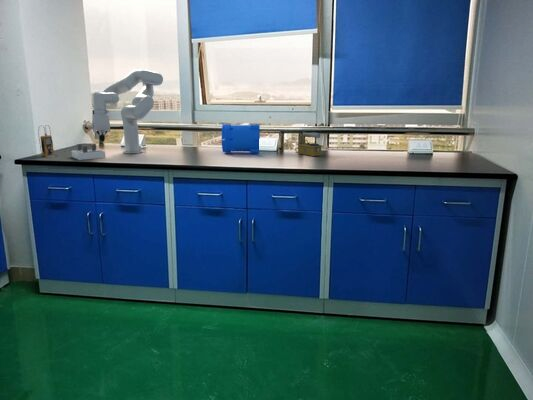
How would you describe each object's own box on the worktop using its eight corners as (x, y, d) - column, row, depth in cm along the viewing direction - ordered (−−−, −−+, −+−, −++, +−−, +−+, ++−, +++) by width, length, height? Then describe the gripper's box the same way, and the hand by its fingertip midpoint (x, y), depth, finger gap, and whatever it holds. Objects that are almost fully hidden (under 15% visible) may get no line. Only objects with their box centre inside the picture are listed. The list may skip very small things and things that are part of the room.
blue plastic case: (221, 154, 298) (221, 125, 294) (225, 150, 320) (224, 122, 315) (259, 154, 298) (258, 125, 293) (259, 150, 319) (259, 123, 315)
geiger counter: (313, 156, 289) (313, 133, 286) (289, 152, 310) (289, 130, 306) (323, 155, 294) (324, 132, 291) (299, 151, 315) (299, 130, 311)
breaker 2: (86, 151, 277) (85, 145, 276) (87, 151, 275) (87, 146, 274) (82, 151, 276) (81, 145, 275) (83, 152, 274) (83, 146, 273)
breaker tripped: (95, 149, 286) (94, 143, 285) (96, 149, 284) (95, 143, 283) (91, 149, 284) (90, 143, 283) (92, 150, 283) (91, 144, 282)
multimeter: (52, 158, 279) (49, 126, 274) (38, 157, 281) (34, 125, 276) (67, 155, 293) (64, 124, 288) (53, 154, 295) (50, 124, 290)
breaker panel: (97, 154, 294) (96, 148, 293) (105, 157, 282) (104, 151, 281) (72, 156, 285) (71, 150, 284) (79, 159, 272) (78, 153, 271)
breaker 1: (81, 149, 286) (80, 143, 285) (82, 149, 284) (81, 144, 284) (77, 149, 285) (76, 144, 284) (78, 150, 283) (77, 144, 282)
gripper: (110, 112, 290) (111, 140, 293) (86, 112, 281) (88, 141, 285) (114, 112, 284) (115, 141, 288) (90, 112, 275) (92, 142, 279)
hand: (102, 141), depth 286 cm, fingers closed
